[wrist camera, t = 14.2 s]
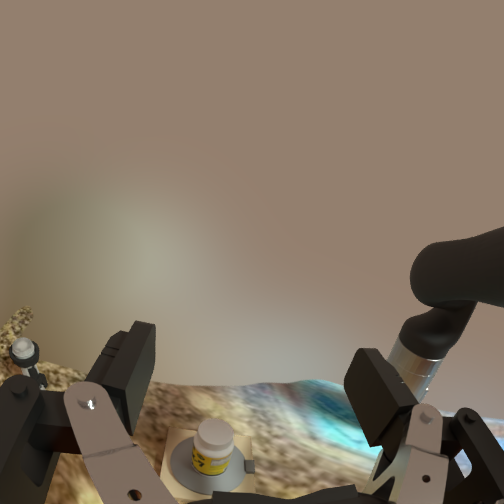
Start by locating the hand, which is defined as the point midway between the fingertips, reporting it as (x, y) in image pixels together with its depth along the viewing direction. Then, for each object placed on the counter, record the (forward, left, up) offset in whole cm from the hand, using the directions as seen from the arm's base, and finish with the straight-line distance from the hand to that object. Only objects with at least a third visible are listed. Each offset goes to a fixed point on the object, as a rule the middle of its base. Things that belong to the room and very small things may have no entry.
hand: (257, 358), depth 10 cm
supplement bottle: (0, -11, -28) cm, 30 cm away
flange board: (0, -11, -30) cm, 32 cm away
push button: (+29, -16, -30) cm, 45 cm away
